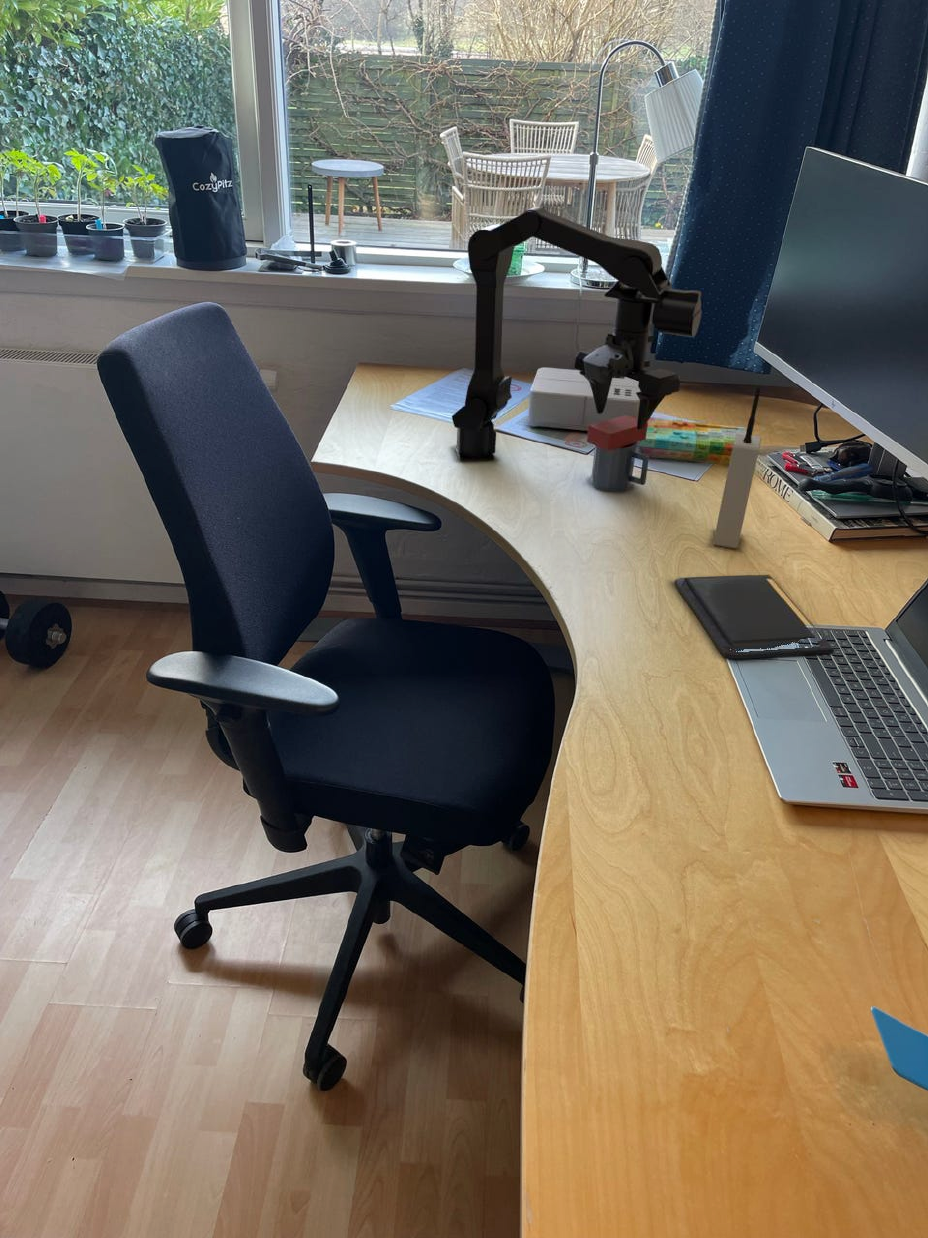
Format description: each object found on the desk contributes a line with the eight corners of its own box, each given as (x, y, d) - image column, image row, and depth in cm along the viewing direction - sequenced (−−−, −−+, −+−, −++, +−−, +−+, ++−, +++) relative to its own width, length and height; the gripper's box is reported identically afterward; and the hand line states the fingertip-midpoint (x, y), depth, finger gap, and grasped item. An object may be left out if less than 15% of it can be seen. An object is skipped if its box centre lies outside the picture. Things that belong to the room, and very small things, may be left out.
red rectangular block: (607, 451, 154) (610, 434, 152) (586, 441, 157) (588, 425, 156) (645, 439, 159) (648, 422, 158) (624, 430, 163) (626, 414, 161)
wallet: (674, 570, 133) (775, 567, 134) (672, 581, 134) (772, 578, 135) (723, 648, 116) (837, 643, 118) (721, 660, 117) (834, 656, 119)
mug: (583, 484, 162) (588, 441, 158) (603, 472, 167) (608, 430, 162) (634, 500, 157) (640, 456, 153) (652, 487, 162) (659, 444, 158)
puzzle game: (642, 413, 180) (747, 423, 178) (639, 436, 183) (742, 446, 180) (642, 434, 170) (752, 445, 168) (638, 458, 173) (747, 469, 170)
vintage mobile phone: (739, 536, 147) (773, 382, 133) (737, 549, 143) (771, 392, 129) (716, 532, 148) (747, 378, 134) (712, 545, 144) (744, 389, 130)
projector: (637, 438, 181) (642, 400, 177) (526, 428, 184) (529, 390, 180) (638, 410, 195) (644, 374, 191) (536, 401, 198) (538, 365, 194)
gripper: (555, 321, 150) (547, 414, 158) (641, 349, 138) (628, 448, 146) (602, 312, 156) (592, 402, 164) (689, 338, 144) (674, 433, 152)
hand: (619, 421), depth 156 cm, fingers open, 9 cm apart
